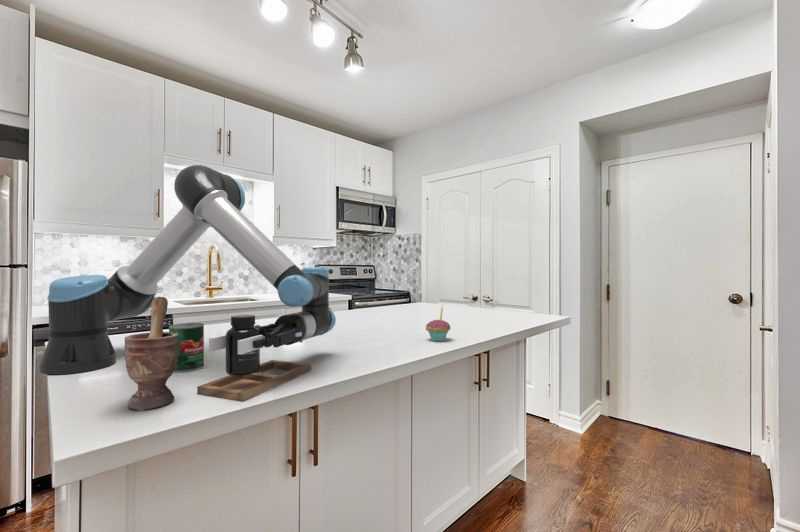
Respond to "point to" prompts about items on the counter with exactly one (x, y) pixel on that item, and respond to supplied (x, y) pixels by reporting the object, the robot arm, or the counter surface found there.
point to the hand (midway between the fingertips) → (224, 346)
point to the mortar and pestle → (152, 360)
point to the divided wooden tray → (252, 381)
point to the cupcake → (438, 329)
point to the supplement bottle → (239, 331)
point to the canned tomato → (189, 346)
